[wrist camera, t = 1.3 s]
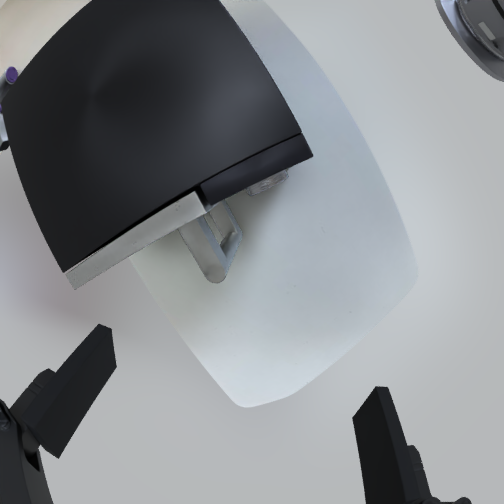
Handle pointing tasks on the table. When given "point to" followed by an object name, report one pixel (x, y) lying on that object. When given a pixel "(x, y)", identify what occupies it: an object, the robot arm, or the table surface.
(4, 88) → the infrared thermometer
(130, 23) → the microwave
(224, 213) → the microwave door
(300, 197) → the table surface
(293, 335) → the table surface
